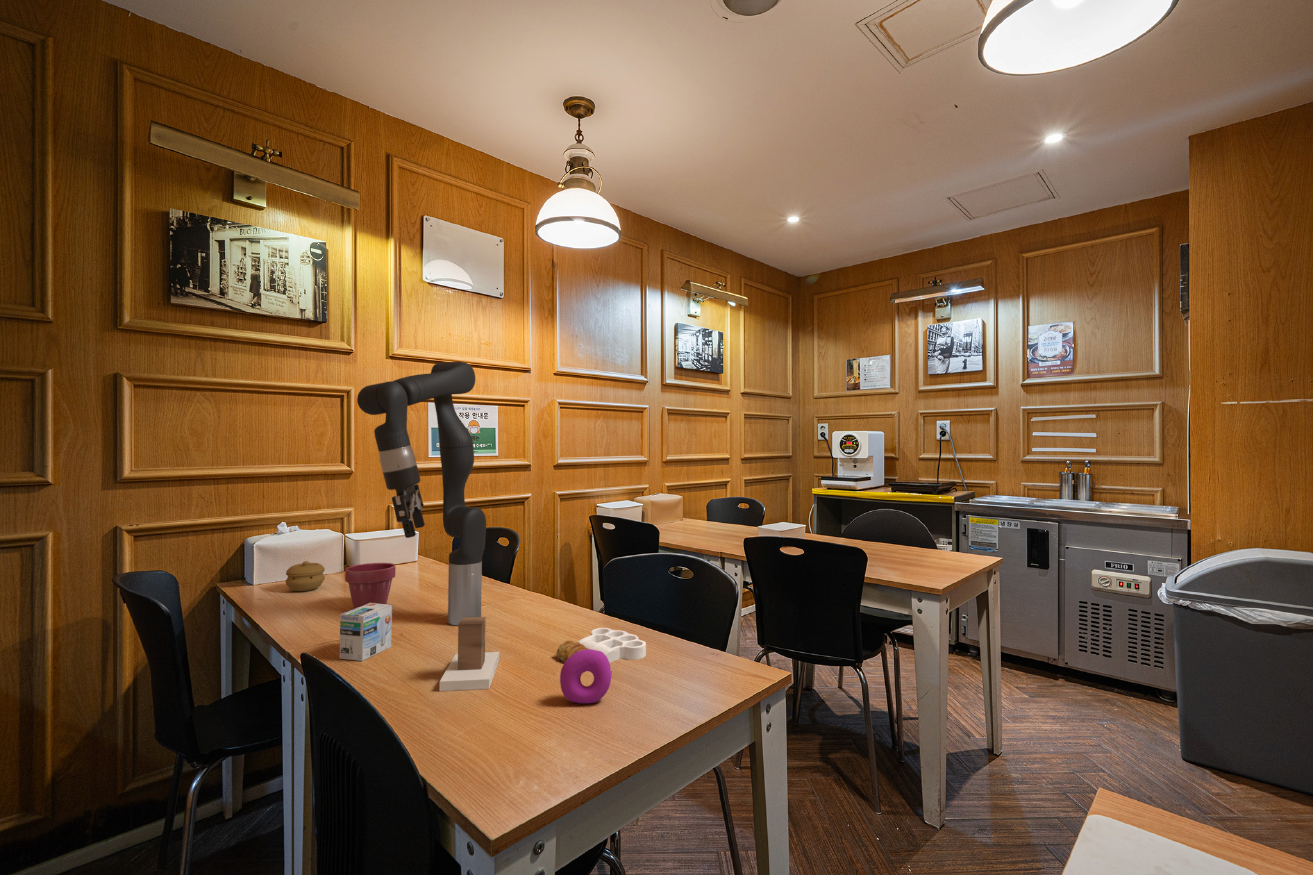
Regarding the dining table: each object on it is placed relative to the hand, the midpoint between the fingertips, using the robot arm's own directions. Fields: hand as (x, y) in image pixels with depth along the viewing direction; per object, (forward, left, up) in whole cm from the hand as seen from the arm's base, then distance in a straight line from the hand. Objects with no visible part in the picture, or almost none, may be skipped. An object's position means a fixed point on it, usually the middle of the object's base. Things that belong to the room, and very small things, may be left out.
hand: (415, 531), depth 135 cm
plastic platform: (+11, +15, -30) cm, 36 cm away
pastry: (+5, +38, -31) cm, 49 cm away
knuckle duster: (0, +48, -31) cm, 57 cm away
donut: (+27, +40, -31) cm, 58 cm away
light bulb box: (-6, -13, -31) cm, 34 cm away
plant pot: (-47, -26, -31) cm, 61 cm away
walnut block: (+11, +15, -28) cm, 34 cm away
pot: (-72, -56, -31) cm, 96 cm away
